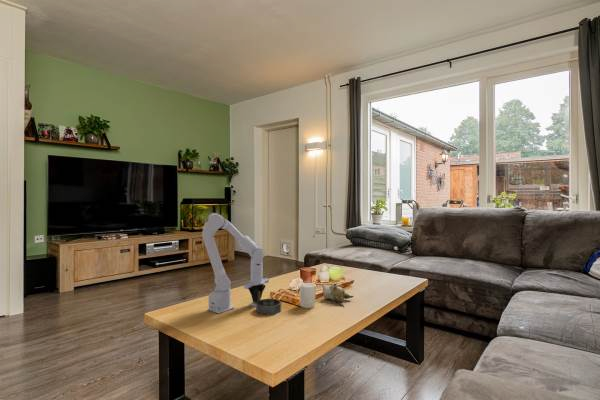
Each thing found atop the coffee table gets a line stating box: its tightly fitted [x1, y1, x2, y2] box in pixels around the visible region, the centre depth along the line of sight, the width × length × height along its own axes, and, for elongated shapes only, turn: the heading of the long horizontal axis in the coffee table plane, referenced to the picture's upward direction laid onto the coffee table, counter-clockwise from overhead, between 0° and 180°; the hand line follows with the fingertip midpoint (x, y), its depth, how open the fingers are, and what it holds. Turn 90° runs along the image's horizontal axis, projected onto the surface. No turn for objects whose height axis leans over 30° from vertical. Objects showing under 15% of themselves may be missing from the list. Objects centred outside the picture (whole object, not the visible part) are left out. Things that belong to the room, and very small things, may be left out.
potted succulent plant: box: [322, 283, 354, 304], centre depth 165 cm, size 11×9×15 cm
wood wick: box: [249, 291, 262, 308], centre depth 158 cm, size 5×5×7 cm
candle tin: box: [255, 298, 282, 316], centre depth 151 cm, size 11×11×4 cm
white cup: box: [298, 282, 317, 309], centre depth 157 cm, size 8×8×10 cm
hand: (256, 300), depth 158 cm, fingers open, 2 cm apart
